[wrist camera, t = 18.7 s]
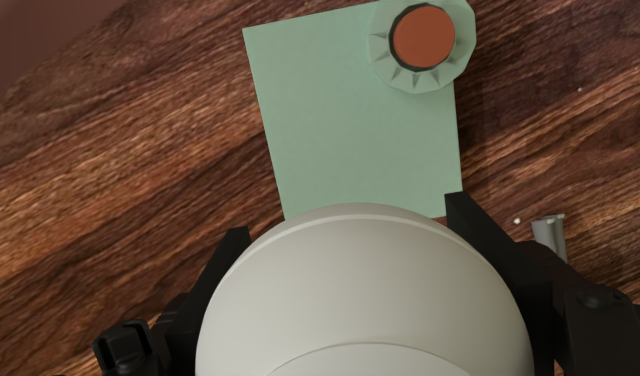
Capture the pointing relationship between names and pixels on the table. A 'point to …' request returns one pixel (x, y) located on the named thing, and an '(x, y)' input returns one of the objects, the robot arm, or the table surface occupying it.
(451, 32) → the button
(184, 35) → the table surface
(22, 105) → the table surface
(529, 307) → the robot arm
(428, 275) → the spinning top
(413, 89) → the green push button box
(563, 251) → the elephant figurine
